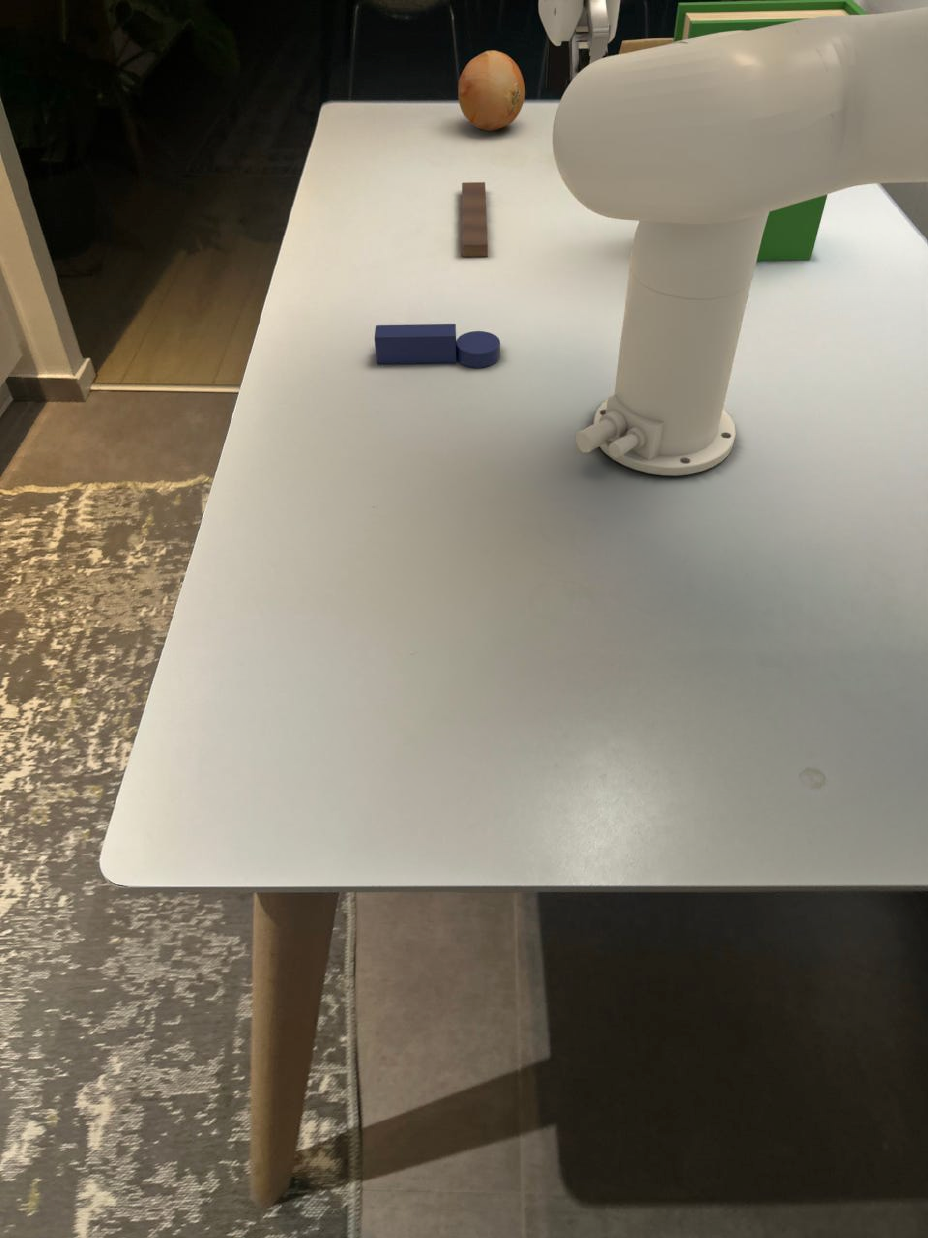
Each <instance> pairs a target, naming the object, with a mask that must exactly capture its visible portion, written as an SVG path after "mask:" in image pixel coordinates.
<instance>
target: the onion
mask: <svg viewBox="0 0 928 1238" xmlns="http://www.w3.org/2000/svg"><path fill="white" fill-rule="evenodd" d="M457 93H458V97H457V98H458V103H459V104H458V105H459V107H460V110H461V113H462V114H463V116H464V117H465V118H466V120H468V121H469V122H470V124H472V125H473V126H474V127H475V128H478V129H481V130H484V131H490V132H492V131H496V130H498V129H499V130H500V129H501V128H503V127H506V126H508V125H510V124H512V123H513V122H514V121H515V120H516V119H517V118H518V116H519V114H520V113H521V112H522V108H523V107H524V104H525V103H524V102H525V96H526V87H525V82H524V78H523V74H522V71H521V69H520V67H519V65H518V64H517V63H516V62H515V60H514V59H512V58H511V57H510V55H508V54H506V53H504V52H502V51H498V50H493V49H492V50H486V51H484V52H482V53H479V54H478V55H477V56H475V57H473V58H472V59H470V60H469V61H468V63H467V64H466V65H465V67H464V69H463V71H462V73H461V75H460V77H459V80H458V91H457Z"/></svg>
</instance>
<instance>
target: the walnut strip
mask: <svg viewBox="0 0 928 1238" xmlns="http://www.w3.org/2000/svg"><path fill="white" fill-rule="evenodd" d="M486 193H487V192H486V182H485V181H482V182H481V181H477V182H475V181H474V182H473V181H472V182H471V181H470V182H469V181H468V182H467V181H466V182H462V183H461V237H462V238H461V242H462V243H461V251H462V252H461V254H462V256H461V257H462V258H479V257H480V258H481V257H482V258H483V257H486V258H487V257H488V256H489V240H488V239H489V237H488V216H487V215H488V214H487V194H486Z"/></svg>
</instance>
